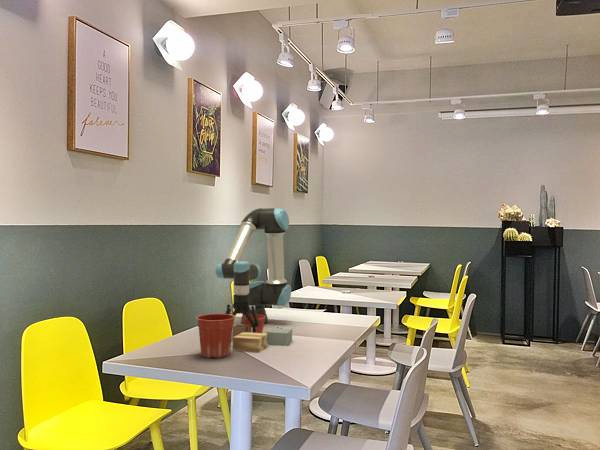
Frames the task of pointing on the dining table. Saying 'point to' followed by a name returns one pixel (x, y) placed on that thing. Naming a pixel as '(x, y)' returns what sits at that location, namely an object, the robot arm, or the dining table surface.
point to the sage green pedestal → (279, 336)
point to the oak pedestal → (250, 342)
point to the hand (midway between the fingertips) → (240, 340)
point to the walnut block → (240, 329)
